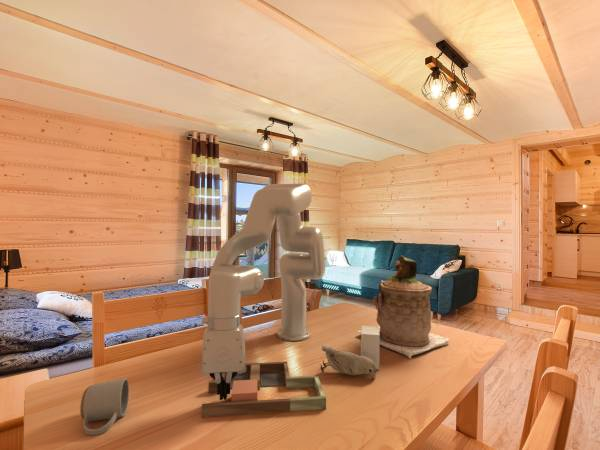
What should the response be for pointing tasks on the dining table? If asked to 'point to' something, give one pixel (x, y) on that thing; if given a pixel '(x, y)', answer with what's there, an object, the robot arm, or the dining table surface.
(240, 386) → the block
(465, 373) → the dining table surface
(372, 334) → the small box
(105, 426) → the ceramic mug
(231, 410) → the trap run
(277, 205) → the robot arm
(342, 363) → the decorative bird
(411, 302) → the cookie jar
